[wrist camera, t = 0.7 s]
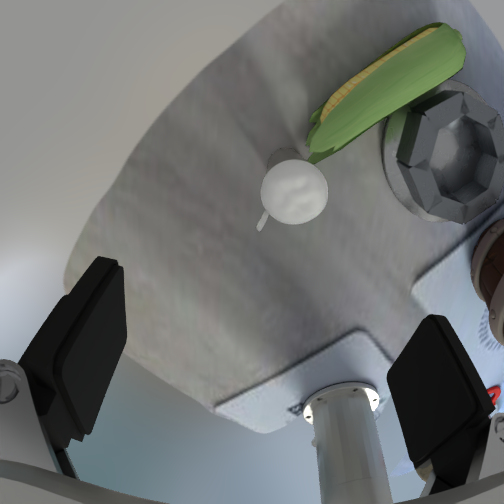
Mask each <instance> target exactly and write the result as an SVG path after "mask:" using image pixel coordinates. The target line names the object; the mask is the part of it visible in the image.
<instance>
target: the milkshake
mask: <svg viewBox="0 0 504 504" xmlns="http://www.w3.org/2000/svg"><path fill="white" fill-rule="evenodd" d="M260 196H261V201H262V203H263V206H264V207H265V211H264V213H263V215H262V217H261V218H260V220H259V222H258V224H257V226H256V229H257V230H258V232H261V230H262V228H263V226H264V224H265V222H266V221H267V219H268V217H269V215H271V216H272V217H273V218H275V219H276V220H278V221H280V222H282V223H286V224H302V223H305V222H307V221H309V220H311V219H313V218H315V217H316V216H318V215H319V214H320V213H321V212H322V211H323V209H324V208H325V206H326V203H327V199H328V185H327V181H326V179H325V177H324V175H323V174H322V172H321V171H320V170H319V169H318V168H317V167H316V166H314V165H313V164H312V163H310V162H309V161H307V160H306V159H305V158H304V157H302V156H301V155H300V154H299V153H297V152H296V151H295V150H293V149H292V148H280V149H279V150H277V151H276V152H274V153H273V154H271V156H270V159H269V162H268V165H267V170H266V173H265V176H264V179H263V182H262V185H261V191H260Z"/></svg>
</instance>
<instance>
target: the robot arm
mask: <svg viewBox="0 0 504 504" xmlns="http://www.w3.org/2000/svg"><path fill="white" fill-rule="evenodd" d="M126 340H127V326H126V312H125V294H124V270H123V267H122V266H118V261H117V260H115V259H110V258H105V257H101V256H98V257H97V258H96V259H95V260H94V261H93V262H92V264H91V265H90V266H89V268H88V269H87V270H86V272H85V273H84V274H83V275H82V277H81V278H80V279H79V281H78V282H77V284H76V285H75V286H74V288H73V289H72V290H71V292H70V293H69V294H68V295H65V296H63V297H62V298H61V299H60V300H59V302H58V303H57V305H56V306H55V308H54V309H53V310H52V312H51V313H50V314H49V316H48V318H47V319H46V320H45V322H44V323H43V325H42V326H41V328H40V329H39V331H38V332H37V334H36V335H35V337H34V338H33V340H32V341H31V343H30V344H29V346H28V347H27V349H26V351H25V352H24V354H23V355H22V357H21V359H20V360H19V362H18V363H15V362H13V361H11V360H6V359H1V360H0V504H168V503H163V502H158V501H153V500H148V499H144V498H139V497H135V496H131V495H128V494H124V493H120V492H116V491H113V490H109V489H106V488H103V487H99V486H96V485H93V484H90V483H87V482H84V481H80V479H79V477H78V475H77V472H76V470H75V468H74V466H73V464H72V461H71V459H70V457H69V455H68V452H67V450H66V448H67V447H68V445H69V443H70V440H71V438H72V439H75V440H78V441H81V442H82V441H83V438H84V435H85V434H87V435H89V434H90V433H91V432H92V430H93V427H94V424H95V421H96V418H97V416H98V413H99V410H100V407H101V405H102V402H103V399H104V397H105V394H106V391H107V389H108V386H109V384H110V381H111V378H112V376H113V373H114V371H115V368H116V366H117V364H118V361H119V358H120V356H121V354H122V351H123V349H124V347H125V344H126ZM387 383H388V386H389V389H390V392H391V395H392V399H393V402H394V405H395V408H396V412H397V415H398V418H399V422H400V425H401V428H402V432H403V436H404V439H405V443H406V447H407V450H408V454H409V458H410V460H411V461H412V462H413V464H414V468H415V469H420V468H425V467H428V466H429V465H431V464H432V466H433V468H432V470H431V473H430V475H429V477H428V480H427V482H426V484H425V487H424V489H423V491H422V493H421V495H420V497H419V498H417V499H413V500H408V501H404V502H399V503H394V504H504V413H497V414H495V415H494V416H493V417H492V418H491V419H489V417H488V416H489V415H490V414H491V413H492V412H493V411H494V410H495V406H494V404H493V402H492V400H491V398H490V396H489V394H488V392H487V390H486V388H485V386H484V384H483V382H482V380H481V378H480V376H479V374H478V372H477V370H476V368H475V366H474V365H473V363H472V361H471V359H470V357H469V355H468V354H467V352H466V350H465V348H464V347H463V345H462V343H461V341H460V340H459V338H458V336H457V334H456V333H455V331H454V329H453V328H452V326H451V324H450V323H449V321H448V319H447V318H446V317H445V316H442V315H434V314H430V315H428V316H427V317H426V318H424V319H423V320H422V321H421V323H420V325H419V326H418V328H417V329H416V331H415V333H414V334H413V336H412V337H411V339H410V340H409V342H408V343H407V345H406V346H405V348H404V349H403V351H402V352H401V354H400V355H399V357H398V358H397V359H396V361H395V362H394V364H393V365H392V367H391V368H390V369H389V371H388V373H387ZM378 403H379V395H378V392H377V390H376V389H375V388H374V387H373V386H371V385H369V384H365V383H360V382H347V383H341V384H336V385H332V386H329V387H327V388H324V389H322V390H320V391H318V392H316V393H315V394H313V395H312V396H311V397H309V398H308V399H307V400H306V402H305V403H304V405H303V410H302V412H303V417H304V419H305V420H306V421H307V422H308V423H310V424H312V425H314V432H315V437H314V439H313V440H312V445H313V446H314V447H316V450H317V461H318V471H319V482H320V494H321V503H322V504H393V500H392V495H391V491H390V486H389V481H388V476H387V472H386V466H385V462H384V457H383V453H382V448H381V444H380V440H379V435H378V431H377V428H376V423H375V419H374V415H373V411H374V410H375V408H376V407H377V405H378Z"/></svg>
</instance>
